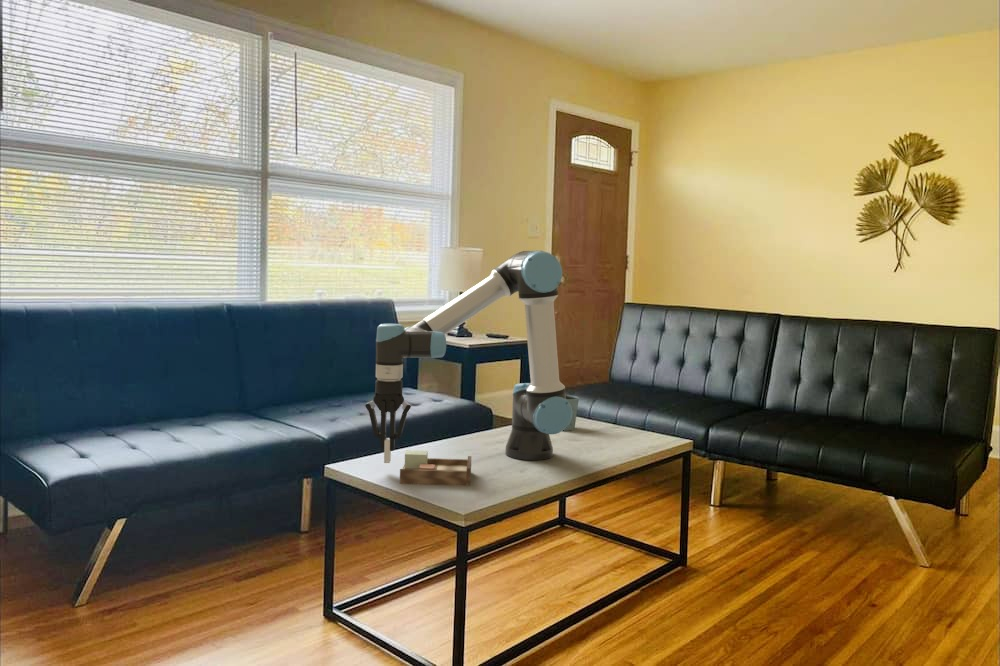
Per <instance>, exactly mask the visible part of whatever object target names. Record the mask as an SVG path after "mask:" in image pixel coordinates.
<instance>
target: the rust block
mask: <svg viewBox="0 0 1000 666" xmlns="http://www.w3.org/2000/svg"><path fill="white" fill-rule="evenodd" d="M419 469H421V470H435V465H434V464H420V467H419Z"/></svg>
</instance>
